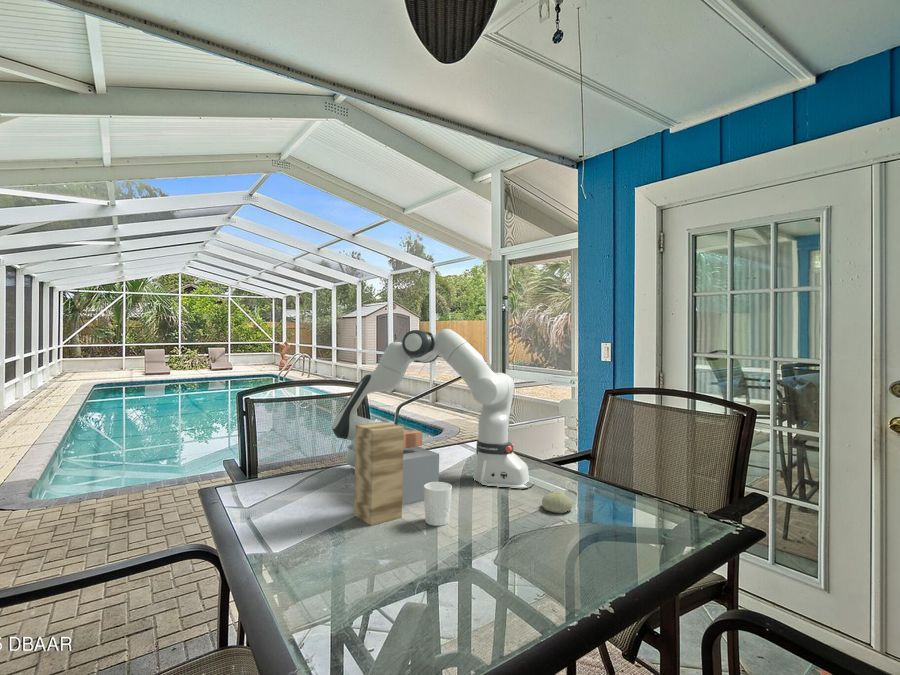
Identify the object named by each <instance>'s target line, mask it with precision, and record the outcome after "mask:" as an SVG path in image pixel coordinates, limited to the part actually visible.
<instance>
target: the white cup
mask: <svg viewBox="0 0 900 675" xmlns="http://www.w3.org/2000/svg"><path fill="white" fill-rule="evenodd" d="M452 490H453V486H452V484H450V483H448V482H443V481H439V482H430V483H427V484H425V485H424V500H423V504H424V521H425V523H426V524H427V525H430V526H434V527H440V526H445V525H448V524H449V522H450V518H451V517H450V516H451V515H450V513H451V506H452V505H451V504H452V495H453V494H452V492H453V491H452Z"/></svg>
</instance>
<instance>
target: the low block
mask: <svg viewBox="0 0 900 675" xmlns="http://www.w3.org/2000/svg"><path fill="white" fill-rule="evenodd" d="M439 476H440V453H438V452H436V451H432V450H429V449H427V448H423V447H422V446H417V447H411V448H404V449H403V488H402V507H403V506H405V505H406V506H407V505H410V504H414V502H415V503H418V501H419V502H422V501H421V500H423V501H424V485H425V484H427V483H430V482H440V481H439V478H440V477H439Z"/></svg>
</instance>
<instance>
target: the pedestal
mask: <svg viewBox="0 0 900 675" xmlns="http://www.w3.org/2000/svg"><path fill="white" fill-rule="evenodd" d="M376 422H377V423H368V424H359V425H356V435H355V467H354V483H353V487H354V490H353V493H354V494H353V516H355V517H357V518H358V519H359V520H361V521H363V522H364V523H366V524H367V525H369V526H371V527H372V526H375V525H378V524H383V523H387V522H390V521H394V520H398V519H402V517H403V506H402V488H403V444H404V430H405V427H404V426H403V425H402V426H401V425H398V424H395V423H391V422H388V421H379V422H378V421H376Z"/></svg>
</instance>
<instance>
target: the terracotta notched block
mask: <svg viewBox="0 0 900 675" xmlns="http://www.w3.org/2000/svg"><path fill="white" fill-rule="evenodd" d="M417 446H418V447H422V446H423V432H422V431H420V430H417V429H416V430H407V429H404V444H403V449H404V448H411V447H417Z"/></svg>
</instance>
